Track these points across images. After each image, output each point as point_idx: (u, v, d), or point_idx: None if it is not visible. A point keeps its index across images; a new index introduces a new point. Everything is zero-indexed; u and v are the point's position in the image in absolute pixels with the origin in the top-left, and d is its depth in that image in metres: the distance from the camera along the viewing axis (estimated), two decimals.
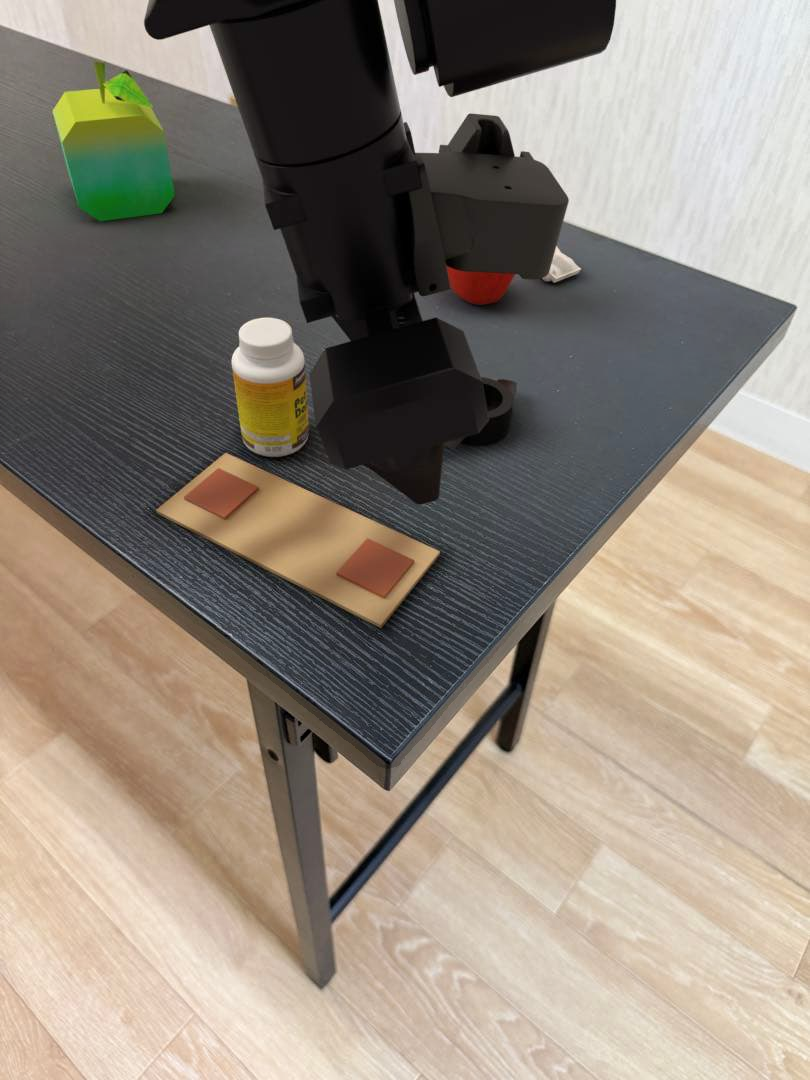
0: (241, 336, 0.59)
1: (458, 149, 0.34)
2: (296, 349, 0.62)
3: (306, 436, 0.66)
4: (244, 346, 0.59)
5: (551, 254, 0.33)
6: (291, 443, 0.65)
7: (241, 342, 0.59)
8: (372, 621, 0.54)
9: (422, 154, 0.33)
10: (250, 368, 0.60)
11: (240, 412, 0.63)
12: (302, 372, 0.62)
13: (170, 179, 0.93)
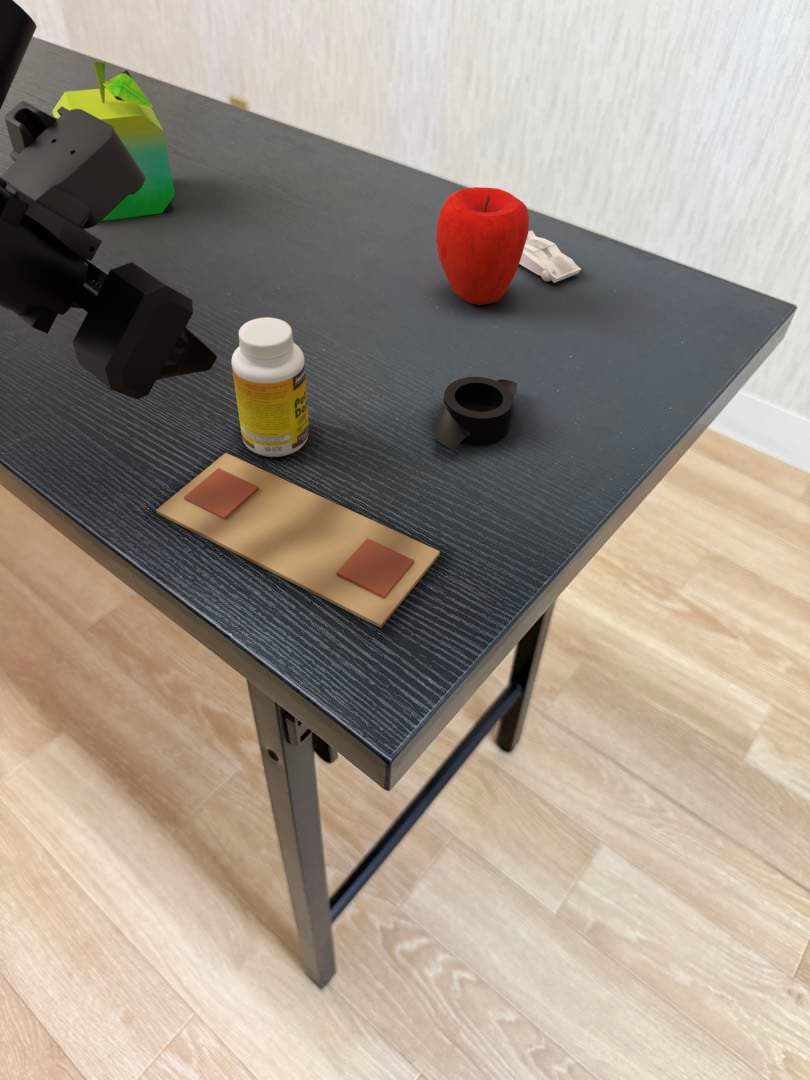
0: (241, 336, 0.59)
1: (21, 147, 0.44)
2: (296, 349, 0.62)
3: (306, 436, 0.66)
4: (244, 346, 0.59)
5: (135, 165, 0.44)
6: (291, 443, 0.65)
7: (241, 342, 0.59)
8: (372, 621, 0.54)
9: (6, 173, 0.43)
10: (250, 368, 0.60)
11: (240, 412, 0.63)
12: (302, 372, 0.62)
13: (170, 179, 0.93)
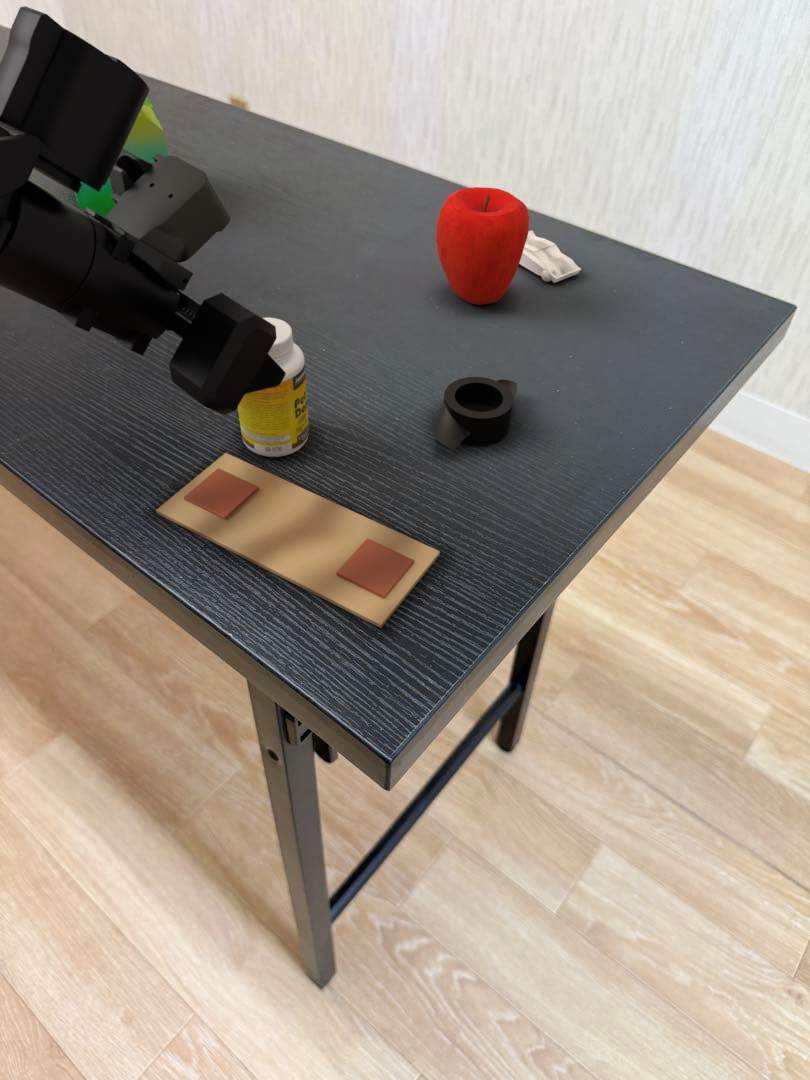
0: None
1: (122, 189, 0.49)
2: (296, 349, 0.62)
3: (306, 436, 0.66)
4: None
5: (223, 206, 0.49)
6: (291, 443, 0.65)
7: None
8: (372, 621, 0.54)
9: (110, 214, 0.48)
10: None
11: (240, 412, 0.63)
12: (302, 372, 0.62)
13: None
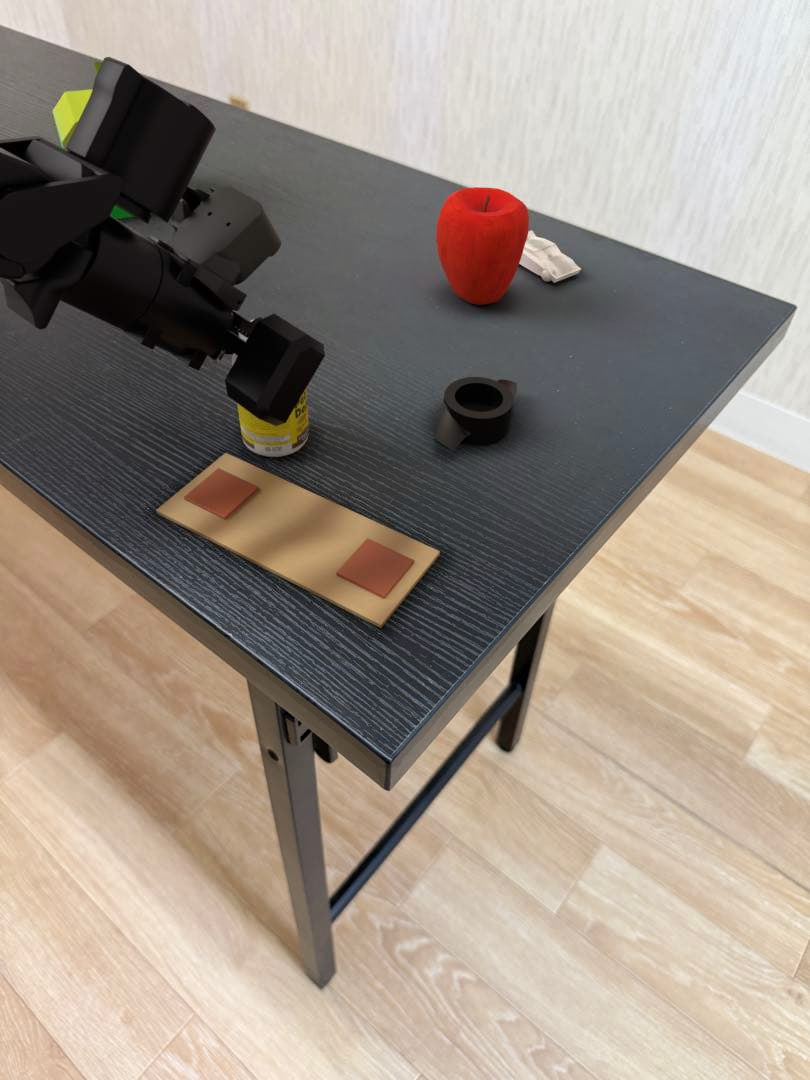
0: (241, 336, 0.59)
1: (181, 217, 0.53)
2: None
3: (306, 436, 0.66)
4: None
5: (275, 233, 0.53)
6: (291, 443, 0.65)
7: None
8: (372, 621, 0.54)
9: (171, 240, 0.52)
10: None
11: (240, 412, 0.63)
12: None
13: None
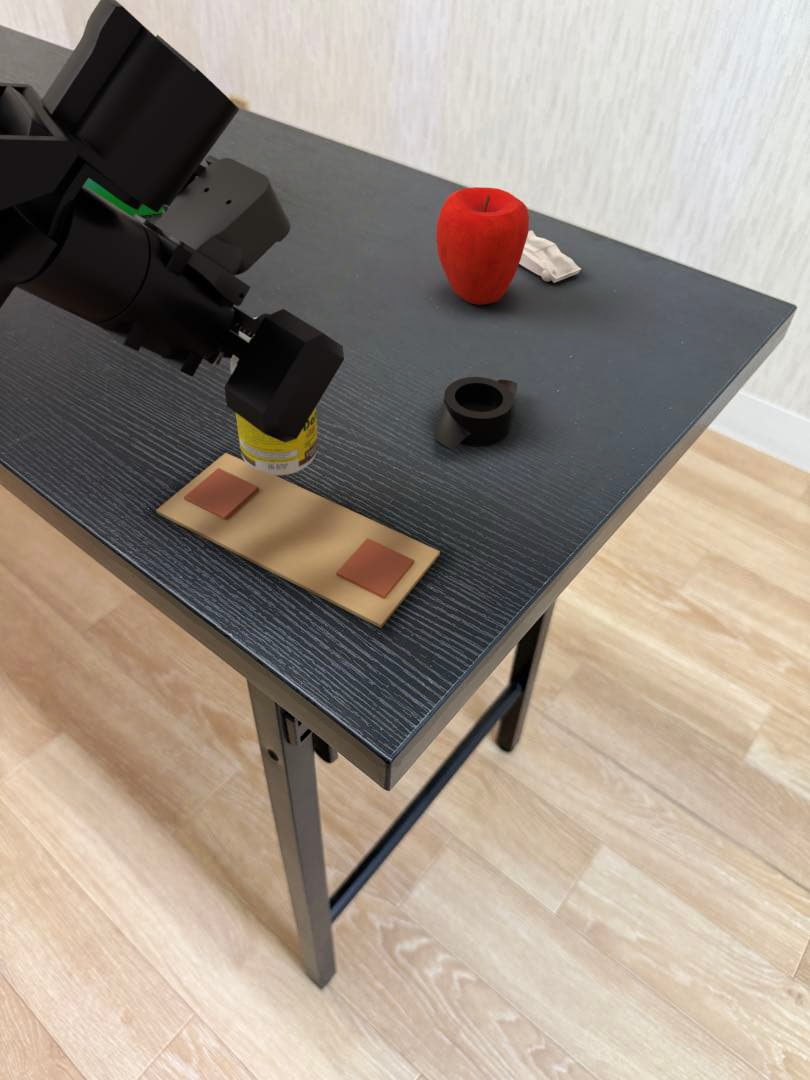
0: (242, 336, 0.51)
1: None
2: None
3: (315, 451, 0.58)
4: None
5: (283, 214, 0.44)
6: (298, 460, 0.56)
7: None
8: (372, 621, 0.54)
9: (160, 221, 0.44)
10: None
11: (239, 424, 0.55)
12: None
13: None
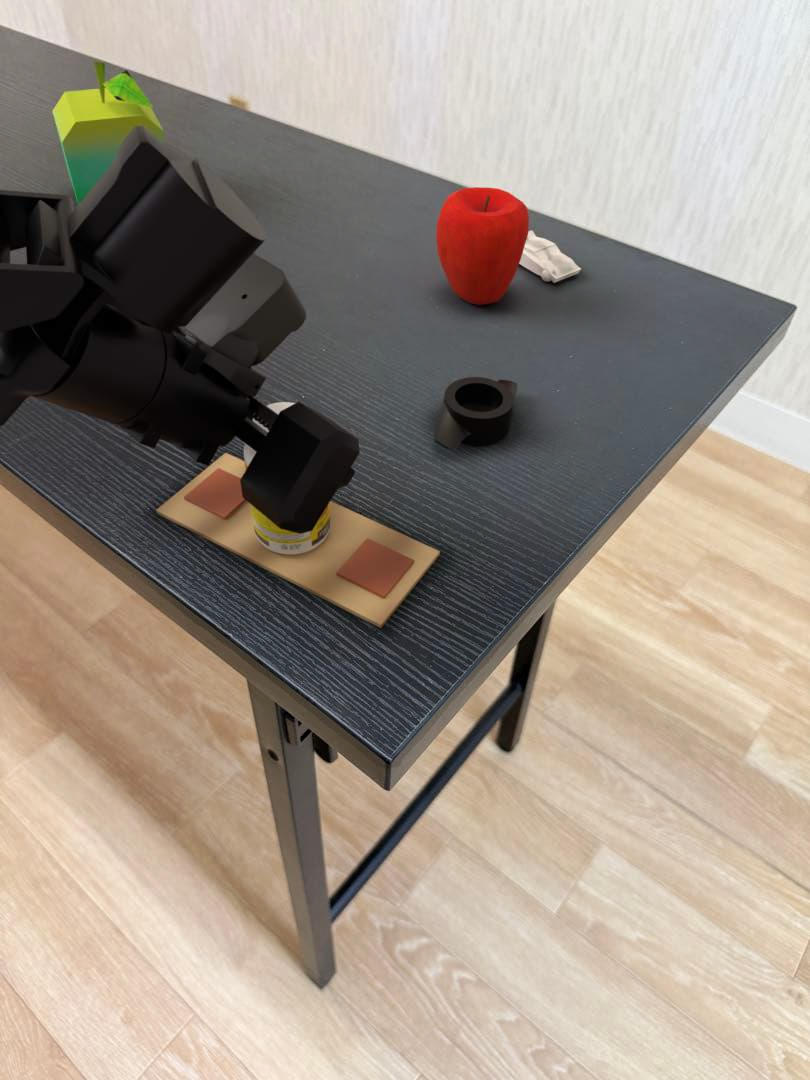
0: None
1: None
2: None
3: (327, 529, 0.58)
4: None
5: (299, 304, 0.44)
6: (311, 540, 0.57)
7: None
8: (372, 621, 0.54)
9: None
10: None
11: (253, 507, 0.55)
12: None
13: None
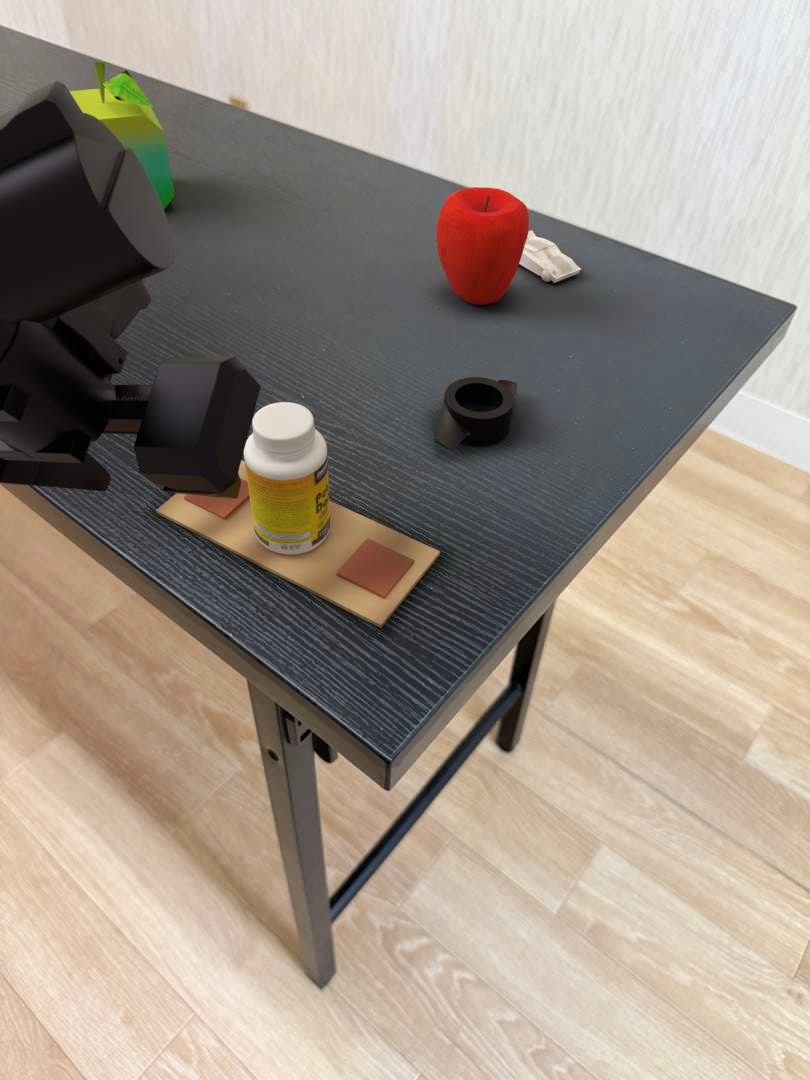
0: (255, 427, 0.51)
1: None
2: (318, 437, 0.54)
3: (327, 529, 0.58)
4: (259, 438, 0.51)
5: None
6: (311, 540, 0.57)
7: (255, 433, 0.51)
8: (372, 621, 0.54)
9: None
10: (265, 463, 0.52)
11: (253, 507, 0.55)
12: (325, 464, 0.54)
13: (170, 179, 0.93)
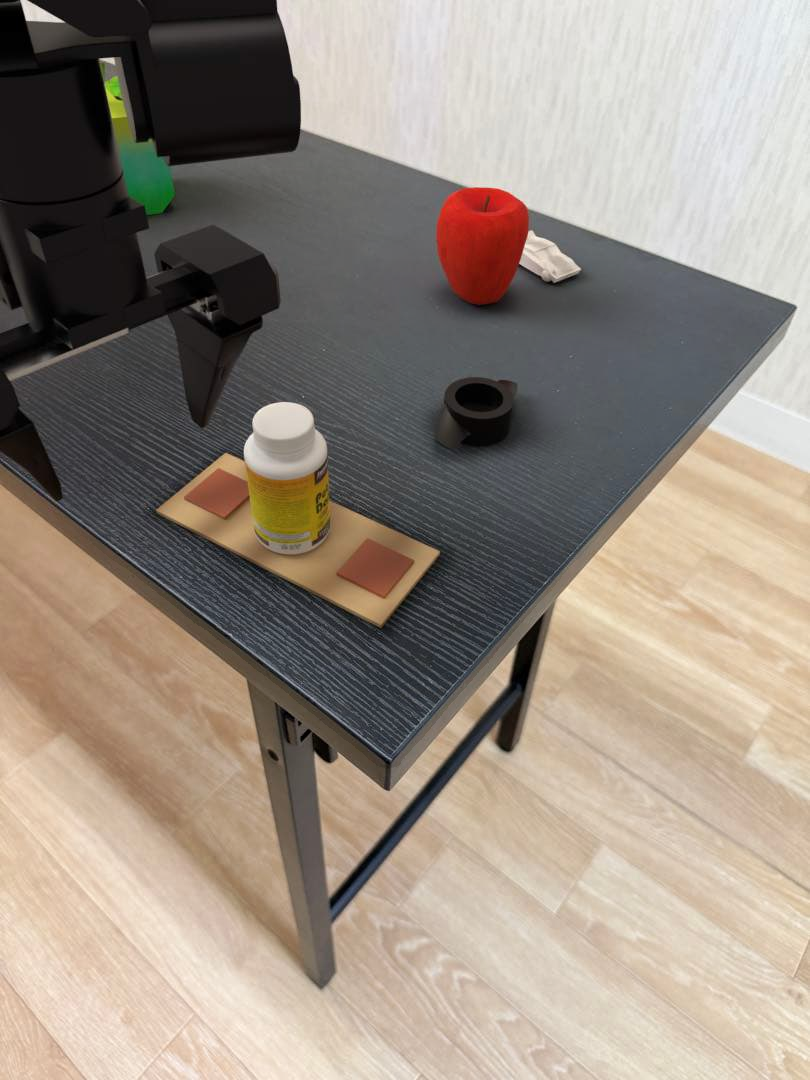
0: (255, 427, 0.51)
1: None
2: (318, 437, 0.54)
3: (327, 529, 0.58)
4: (259, 438, 0.51)
5: None
6: (311, 540, 0.57)
7: (255, 433, 0.51)
8: (372, 621, 0.54)
9: None
10: (265, 463, 0.52)
11: (253, 507, 0.55)
12: (325, 464, 0.54)
13: (170, 179, 0.93)
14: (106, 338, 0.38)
